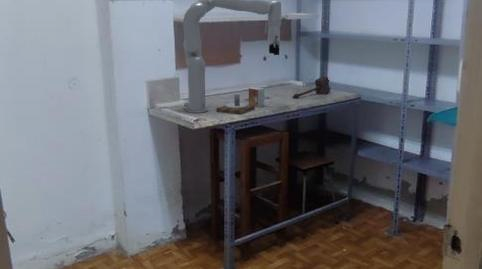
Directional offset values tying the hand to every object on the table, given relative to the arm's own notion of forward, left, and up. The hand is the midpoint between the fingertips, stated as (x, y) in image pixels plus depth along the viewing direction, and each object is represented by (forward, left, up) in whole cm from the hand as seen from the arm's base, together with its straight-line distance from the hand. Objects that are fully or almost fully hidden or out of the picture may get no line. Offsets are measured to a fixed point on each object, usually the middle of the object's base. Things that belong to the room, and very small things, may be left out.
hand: (274, 54), depth 284 cm
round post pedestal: (-15, -18, -29) cm, 38 cm away
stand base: (-15, -18, -31) cm, 39 cm away
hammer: (+5, +46, -32) cm, 56 cm away
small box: (-11, 0, -31) cm, 33 cm away
